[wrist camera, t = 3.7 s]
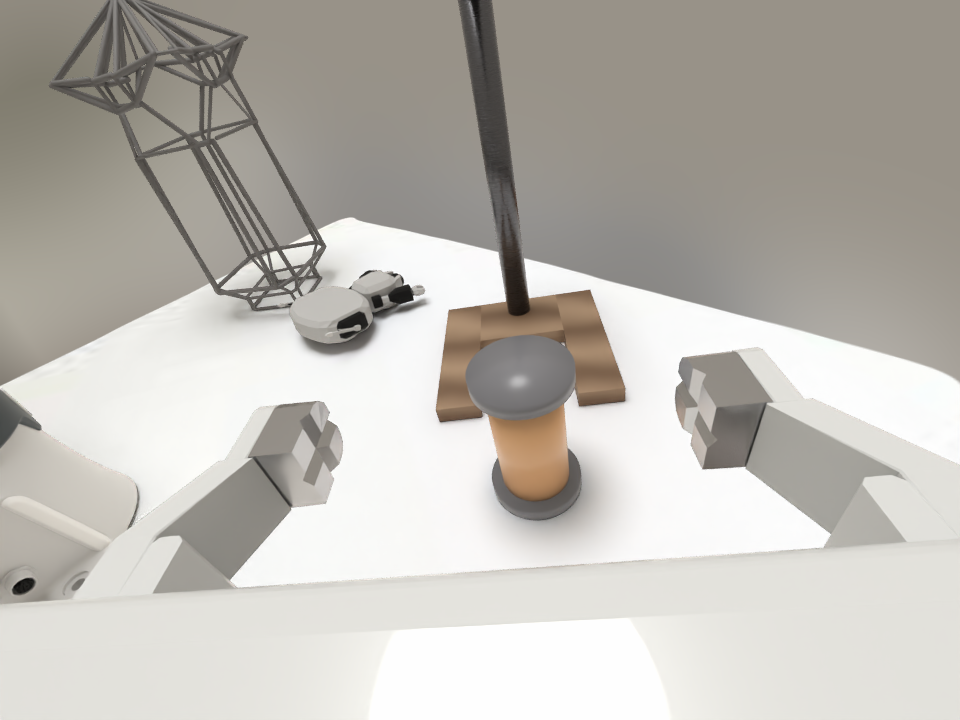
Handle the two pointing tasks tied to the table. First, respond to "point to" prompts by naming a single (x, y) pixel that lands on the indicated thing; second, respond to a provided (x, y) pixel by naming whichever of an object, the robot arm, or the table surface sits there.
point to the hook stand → (495, 146)
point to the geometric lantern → (116, 37)
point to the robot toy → (348, 306)
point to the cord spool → (528, 422)
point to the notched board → (547, 318)
